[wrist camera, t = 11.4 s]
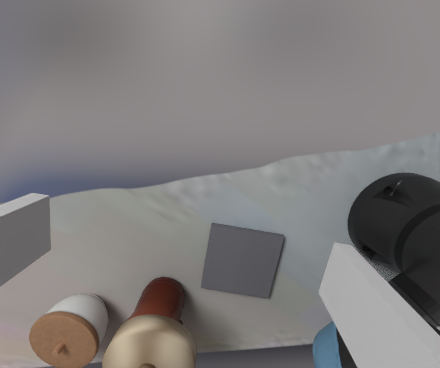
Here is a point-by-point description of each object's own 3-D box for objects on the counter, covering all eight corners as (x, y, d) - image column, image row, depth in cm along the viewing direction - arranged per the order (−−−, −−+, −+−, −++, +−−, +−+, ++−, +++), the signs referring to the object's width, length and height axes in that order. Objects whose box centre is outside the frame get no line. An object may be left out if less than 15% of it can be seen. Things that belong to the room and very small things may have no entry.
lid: (203, 322, 32) (199, 351, 28) (190, 386, 36) (185, 420, 32) (115, 307, 32) (99, 334, 28) (110, 373, 35) (95, 406, 31)
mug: (132, 286, 44) (104, 335, 34) (169, 261, 42) (150, 306, 32) (173, 330, 46) (159, 388, 36) (210, 308, 44) (205, 363, 34)
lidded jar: (129, 316, 45) (104, 366, 36) (84, 337, 47) (50, 389, 38) (95, 273, 43) (60, 314, 34) (50, 296, 45) (4, 341, 36)
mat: (282, 234, 40) (284, 237, 39) (267, 294, 43) (268, 298, 42) (211, 222, 40) (211, 225, 39) (201, 283, 43) (200, 287, 42)
